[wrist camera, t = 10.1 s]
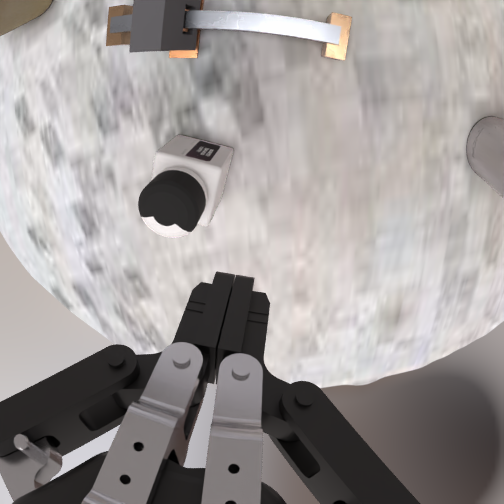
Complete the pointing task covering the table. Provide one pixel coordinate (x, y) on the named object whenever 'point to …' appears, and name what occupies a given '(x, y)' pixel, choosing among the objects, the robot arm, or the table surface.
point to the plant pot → (20, 12)
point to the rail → (243, 28)
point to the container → (184, 186)
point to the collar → (162, 25)
